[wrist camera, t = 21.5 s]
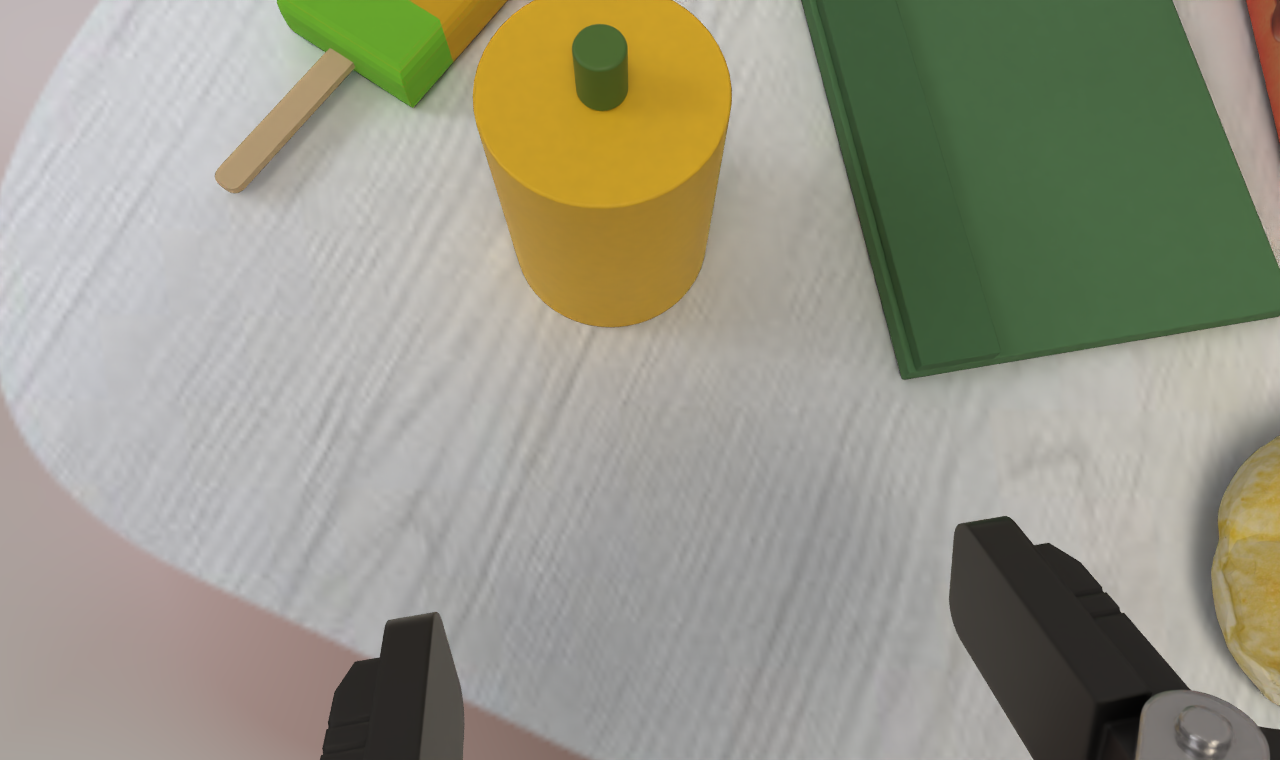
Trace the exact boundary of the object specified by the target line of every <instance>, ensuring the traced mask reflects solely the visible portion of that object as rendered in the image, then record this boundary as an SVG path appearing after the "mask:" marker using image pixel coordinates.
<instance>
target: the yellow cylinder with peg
mask: <svg viewBox="0 0 1280 760" xmlns="http://www.w3.org/2000/svg"><path fill="white" fill-rule="evenodd" d="M731 104H732V88H731V81H730V74H729V71H728V67H727V64H726V61H725V58H724V56H723V54H722V52H721V50H720V48H719V46H718V44H717V42H716V41H715V39H714V38H713V36H712V35H711V33H710V32H709V31H708V30H707V29H706V27H705V26H704V25H703V24H702V23H701V22H700V21H699V20H698V19H697V18H696V17H695V16H694V15H693V14H692V13H690V12H689V11H688V10H687V9H685V8H684V7H682V6H681V5H679V4H678V3H676V2H675V1H673V0H534V1H532V2H530V3H529V4H527V5H525V6H524V7H522V8H521V9H520V10H518V11H517V12H516V13H514V14H513V15H512V16H511V17H510V18H509V19H508V20H507V21H506V22H505V23H504V24H503V25H502V26H501V27H500V28H499V29H498V31H497V32H496V33H495V34H494V36H493V37H492V38H491V40H490V42H489V43H488V45H487V47H486V48H485V50H484V52H483V55H482V57H481V59H480V62H479V64H478V67H477V71H476V75H475V79H474V87H473V109H474V115H475V120H476V124H477V128H478V131H479V134H480V138H481V141H482V144H483V147H484V151H485V154H486V157H487V160H488V164H489V167H490V170H491V173H492V177H493V180H494V183H495V186H496V189H497V193H498V196H499V199H500V202H501V206H502V209H503V212H504V215H505V219H506V222H507V225H508V228H509V232H510V235H511V238H512V241H513V245H514V248H515V251H516V254H517V258H518V261H519V264H520V267H521V269H522V272H523V274H524V276H525V278H526V280H527V282H528V284H529V285H530V287H531V288H532V289H533V291H534V292H535V293H536V294H537V295H538V297H539V298H540V299H541V300H542V301H543V302H544V303H546V304H547V305H548V306H549V307H551V308H552V309H553V310H555V311H556V312H558V313H560V314H562V315H563V316H565V317H567V318H570V319H572V320H574V321H577V322H580V323H584V324H587V325H593V326H599V327H620V326H628V325H633V324H638V323H641V322H644V321H647V320H649V319H652V318H654V317H656V316H658V315H660V314H662V313H663V312H665V311H666V310H668V309H669V308H671V307H672V306H673V305H674V304H676V303H677V302H678V301H679V300H680V299H681V298H682V297H683V296H684V295H685V294H686V292H687V291H688V290H689V289H690V287H691V286H692V284H693V283H694V281H695V280H696V278H697V276H698V274H699V271H700V269H701V267H702V263H703V260H704V256H705V251H706V245H707V240H708V234H709V228H710V223H711V217H712V212H713V206H714V201H715V195H716V189H717V184H718V178H719V173H720V167H721V161H722V156H723V150H724V145H725V139H726V134H727V128H728V122H729V117H730V110H731Z"/></svg>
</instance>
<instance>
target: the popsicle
mask: <svg viewBox="0 0 1280 760" xmlns="http://www.w3.org/2000/svg"><path fill="white" fill-rule="evenodd" d="M507 1H508V0H277V4H278V7H279V9H280V12H281V14H282V15H283V17H284V19H285V21H286V22H287V24H288V26H289V27H290V28H291V29H292V30H293V31H294V32H295V33H297V34H298V35H300V36H301V37H303V38H305V39H306V40H308V41H309V42H311V43H312V44H314V45H315V46H317V47H319V48H320V49H322V50H323V51H325V54H324V55H323V56H322V57H321V58H320V59H319V60H318V61H317V62H316V63H315V64H314V65H313V66H312V68H311V69H310V70H309V71H308V72H307V73H306V74H305V75H304V76H303V77H302V78H301V79H300V80H299V82H298V83H297V84H296V85H295V86H294V87H293V88H292V89H291V90H290V91H289V92H288V93H287V95H286V96H285V97H284V98H283V99H282V100H281V101H280V102H279V103H278V104H277V105H276V106H275V107H274V109H273V110H272V111H271V112H270V113H269V114H268V115H267V116H266V117H265V118H264V119H263V120H262V121H261V123H260V124H259V125H258V126H257V127H256V128H255V129H254V130H253V131H252V132H251V133H250V134H249V135H248V137H247V138H246V139H245V140H244V141H243V142H242V143H241V144H240V145H239V146H238V147H237V148H236V150H235V151H234V152H233V153H232V154H231V155H230V156H229V157H228V158H227V159H226V160H225V161H224V162H223V164H222V165H221V166H220V167H219V168H218V169H217V171H216V173H215V179H216V181H217V182H218V183H219V185H220V186H221V187H223V188H224V189H225V190H227V191H229V192H231V193H239V192H241V191H242V190H244V189H245V188H246V187H247V186H248V185H249V183H250V182H251V181H252V180H253V179H254V178H255V177H256V176H257V175H258V174H259V172H260V171H261V170H262V169H263V168H264V167H265V166H266V165H267V164H268V163H269V161H270V160H271V159H272V158H273V157H274V156H275V155H276V154H277V153H278V152H279V151H280V149H281V148H282V147H283V146H284V145H285V144H286V143H287V142H288V141H289V140H290V138H291V137H292V136H293V135H294V134H295V133H296V132H297V131H298V130H299V129H300V127H301V126H302V125H303V124H304V123H305V122H306V121H307V120H308V119H309V118H310V116H311V115H312V114H313V113H314V112H315V111H316V110H317V109H318V108H319V107H320V106H321V104H322V103H323V102H324V101H325V100H326V99H327V98H328V97H329V96H330V95H331V93H332V92H333V91H334V90H335V89H336V88H337V87H338V86H339V85H340V84H341V82H342V81H343V80H344V79H345V78H346V77H347V76H348V75H349V74H350V73H351V72H352V70H354V71H356V72H358V73H359V74H361V75H362V76H364V77H365V78H367V79H368V80H370V81H372V82H373V83H375V84H376V85H378V86H379V87H381V88H382V89H384V90H386V91H387V92H389V93H390V94H392V95H393V96H395V97H396V98H398V99H400V100H401V101H403V102H404V103H406V104H407V105H409V106H410V107H412V108H414V106H415V105H416V104H417V103H418V102H419V101H420V100H421V99H422V97H423V96H424V95H425V94H426V93H427V92H428V91H429V89H430V88H431V87H432V86H433V85H434V84H435V83H436V81H437V80H438V79H439V78H440V77H441V76H442V75H443V73H444V72H445V71H446V70H447V69H448V68H449V67H450V65H451V64H452V63H453V62H454V61H455V60H456V59H457V58H458V56H459V55H460V54H461V53H462V52H463V51H464V50H465V48H466V47H467V46H468V45H469V44H470V43H471V42H472V40H473V39H474V38H475V37H476V36H477V35H478V34H479V32H480V31H481V30H482V29H483V28H484V27H485V26H486V24H487V23H488V22H489V21H490V20H491V19H492V18H493V16H494V15H495V14H496V13H497V12H498V11H499V10H500V8H501V7H502V6H503V5H504V4H505V3H506V2H507Z"/></svg>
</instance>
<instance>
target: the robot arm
mask: <svg viewBox="0 0 1280 760" xmlns="http://www.w3.org/2000/svg"><path fill="white" fill-rule="evenodd" d="M949 605H950V612H951V616H952V620H953V624H954V627H955V629H956V632H957V634H958V636H959V638H960V640H961V641H962V643H963V645H964V646H965V648H966V650H967V651H968V653H969V655H970V656H971V658H972V659H973V661H974V663H975V664H976V666H977V668H978V669H979V671H980V673H981V674H982V676H983V678H984V679H985V681H986V682H987V684H988V686H989V687H990V689H991V691H992V692H993V694H994V696H995V697H996V699H997V700H998V702H999V704H1000V705H1001V707H1002V709H1003V710H1004V712H1005V714H1006V715H1007V717H1008V718H1009V720H1010V722H1011V723H1012V725H1013V727H1014V728H1015V730H1016V732H1017V733H1018V735H1019V737H1020V738H1021V740H1022V741H1023V743H1024V745H1025V746H1026V748H1027V750H1028V751H1029V753H1030V755H1031V756H1032V758H1033V759H1034V760H1280V730H1279V729H1271V728H1264V727H1259V726H1257V725H1256V723H1255V722H1254V721H1253V720H1252V719H1251V718H1250V717H1248V716H1247V715H1246V714H1245V713H1244V712H1242V711H1241V710H1240V709H1238V708H1237V707H1235V706H1233V705H1232V704H1230V703H1228V702H1226V701H1224V700H1222V699H1220V698H1217V697H1215V696H1212V695H1209V694H1206V693H1202V692H1197V691H1191V690H1190V689H1189V688H1188V687H1187V685H1186V684H1185V683H1184V682H1183V681H1182V680H1181V678H1180V677H1179V676H1178V675H1177V674H1176V673H1175V672H1174V670H1173V669H1172V668H1171V667H1170V666H1169V665H1168V663H1167V662H1166V661H1165V660H1164V659H1163V658H1162V656H1161V655H1160V654H1159V653H1158V652H1157V651H1156V649H1155V648H1154V647H1153V646H1152V645H1151V644H1150V642H1149V641H1148V640H1147V639H1146V638H1145V637H1144V636H1143V634H1142V633H1141V632H1140V631H1139V630H1138V629H1137V627H1136V626H1135V625H1134V624H1133V623H1132V622H1131V620H1130V619H1129V618H1128V617H1127V616H1126V615H1125V613H1121V612H1120V609H1119V606H1118V605H1117V604H1116V603H1115V602H1114V601H1113V599H1112V598H1111V597H1110V596H1109V595H1108V594H1107V593H1106V592H1105V593H1104V592H1103V591H1102V587H1101V586H1100V584H1099V583H1098V582H1097V581H1096V580H1095V579H1094V577H1093V576H1092V575H1091V574H1090V573H1089V572H1088V570H1087V569H1086V568H1085V567H1084V566H1083V565H1082V563H1081V562H1079V561H1077V560H1076V559H1074V558H1073V557H1071V556H1069V555H1068V554H1066V553H1064V552H1063V551H1061V550H1060V549H1058V548H1056V547H1055V546H1053V545H1052V544H1050V543H1045V544H1039V545H1033V544H1032V542H1031V541H1030V540H1029V539H1028V537H1027V536H1026V535H1025V534H1024V533H1023V531H1022V530H1021V529H1020V528H1019V526H1018V525H1017V524H1016V523H1015V522H1014V521H1013V520H1012V519H1011V518H1010V517H1007V516H1002V517H996V518H990V519H984V520H978V521H973V522H967V523H961V524H958V525H957V527H956V529H955V532H954V542H953V554H952V567H951V580H950V592H949ZM328 725H329V728H328V729H327V730H326V735H325V739H324V744H323V748H322V749H323V755H321V758H320V760H463V740H464V707H463V698H462V691H461V686H460V682H459V678H458V675H457V671H456V668H455V664H454V661H453V657H452V654H451V650H450V647H449V643H448V640H447V636H446V633H445V629H444V626H443V623H442V619H441V617H440V615H439V613H438V612H432V613H427V614H421V615H415V616H409V617H403V618H397V619H392V620H388V621H387V623H386V625H385V629H384V635H383V641H382V647H381V653H380V658H374V659H368V660H363V661H357V662H355V663H354V664H353V665H352V667H351V668H350V670H349V671H348V673H347V674H346V676H345V677H344V679H343V680H342V682H341V683H340V685H339V686H338V688H337V689H336V691H335V693H334V697H333V702H332V707H331V712H330V716H329V721H328Z"/></svg>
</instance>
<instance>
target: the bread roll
mask: <svg viewBox="0 0 1280 760" xmlns="http://www.w3.org/2000/svg"><path fill="white" fill-rule="evenodd" d="M1218 529H1219V542H1218V545H1217V549H1216V552H1215V556H1214V558H1213V565H1212V569H1211V578H1212V591H1213V599H1214V604H1215V610H1216V615H1217V620H1218V622H1219V625H1220V627H1221V630H1222V633H1223V635H1224V638H1225V642H1226V645H1227V647H1228V649H1229V651H1230V652H1231V654H1232V656H1233V657H1234V659H1235V660H1236V662H1237V663H1238V665H1239V666H1240V668H1241V669H1242V670H1243V672H1244V673H1245V674H1246V675H1247V676H1248V677H1249V678H1250V680H1251V681H1252V682H1253V683H1254V684H1255V685H1256V686H1257V688H1258V689H1259V690H1260V691H1261V692H1262V694H1263V695H1264V696H1265V697H1266V698H1267V699H1268V700H1270V701H1272V702H1273V703H1275V704H1277V705H1279V706H1280V436H1278V437H1276V438H1275V439H1274V440H1272V441H1271V442H1269V443H1268V444H1266V445H1264V446H1262V447H1261V448H1259V449H1258V450H1257V451H1256V452H1255V453H1253V454H1252V455H1251V456H1250V457H1249V458H1248V459H1247V460H1246V461H1245V462H1244V463H1243V464H1242V466H1241V467H1240V468H1239V469H1238V471H1237V472H1236V474H1235V475H1234V477H1233V479H1232V480H1231V482H1230V483H1229V485H1228V487H1227V489H1226V491H1225V493H1224V495H1223V498H1222V500H1221V504H1220V507H1219V511H1218Z"/></svg>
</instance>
